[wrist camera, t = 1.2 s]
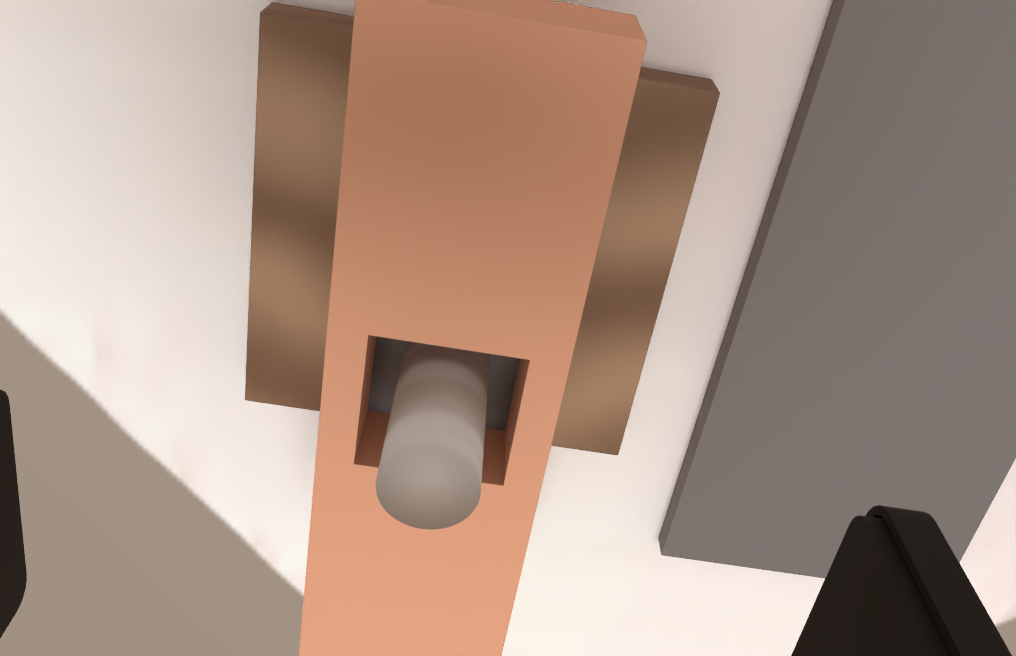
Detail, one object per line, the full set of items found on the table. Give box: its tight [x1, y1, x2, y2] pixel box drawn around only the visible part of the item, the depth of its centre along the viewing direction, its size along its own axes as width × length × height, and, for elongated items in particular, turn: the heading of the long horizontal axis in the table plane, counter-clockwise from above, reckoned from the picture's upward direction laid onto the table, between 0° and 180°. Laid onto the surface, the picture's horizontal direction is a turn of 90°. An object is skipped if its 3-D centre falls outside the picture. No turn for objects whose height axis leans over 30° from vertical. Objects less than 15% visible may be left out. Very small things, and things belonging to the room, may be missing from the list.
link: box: [299, 0, 647, 656], centre depth 26 cm, size 20×6×2 cm, turn 170°
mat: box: [659, 0, 1016, 578], centre depth 34 cm, size 24×12×1 cm, turn 170°
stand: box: [245, 3, 720, 530], centre depth 28 cm, size 14×14×14 cm
